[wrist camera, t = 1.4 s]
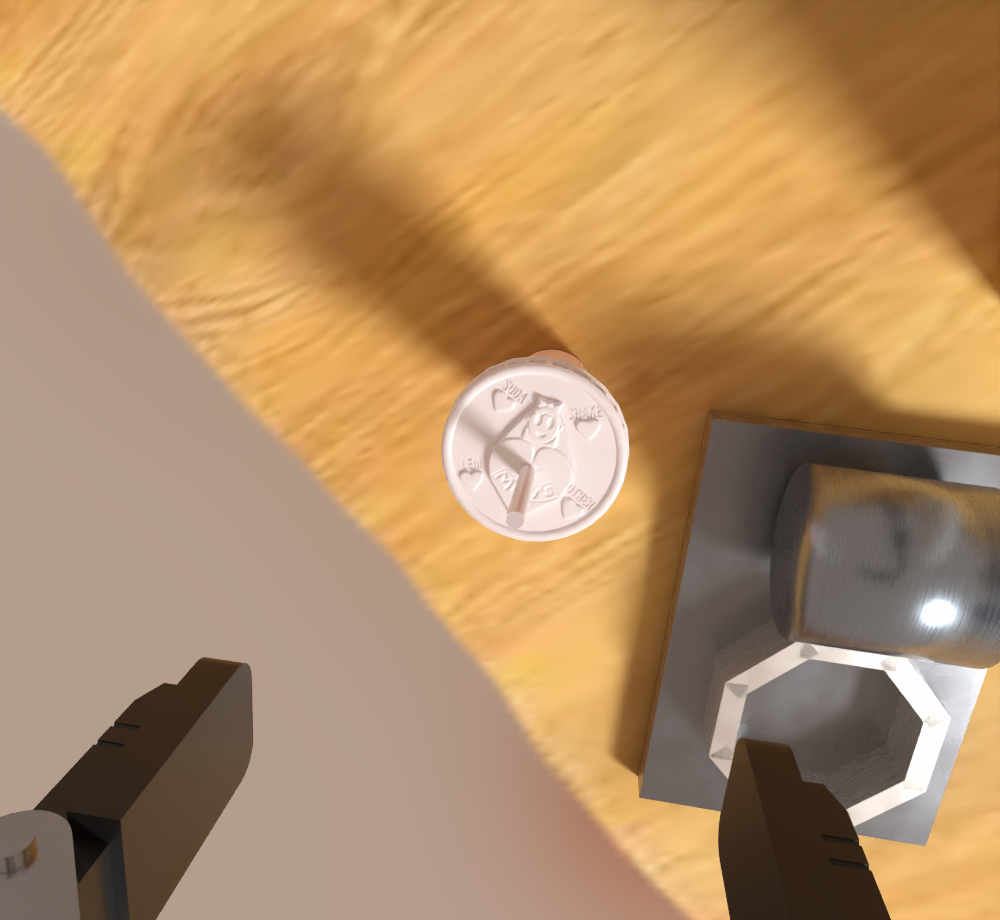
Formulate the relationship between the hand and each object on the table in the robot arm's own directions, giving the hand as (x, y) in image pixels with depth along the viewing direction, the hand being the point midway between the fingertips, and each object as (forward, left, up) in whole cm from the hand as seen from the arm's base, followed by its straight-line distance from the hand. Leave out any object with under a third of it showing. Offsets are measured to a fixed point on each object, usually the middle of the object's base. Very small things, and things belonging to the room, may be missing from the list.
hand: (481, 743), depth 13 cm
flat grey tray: (+10, +14, -24) cm, 29 cm away
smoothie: (0, 0, -24) cm, 24 cm away
